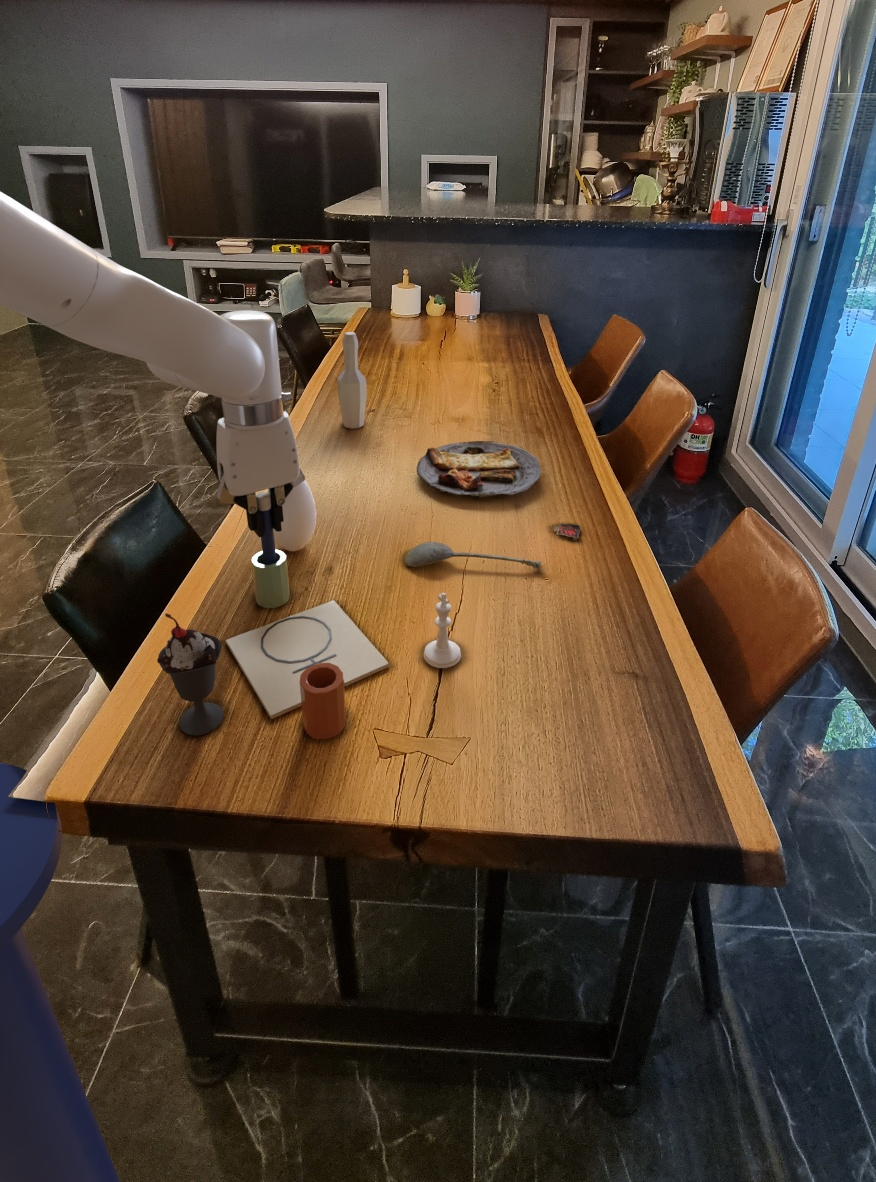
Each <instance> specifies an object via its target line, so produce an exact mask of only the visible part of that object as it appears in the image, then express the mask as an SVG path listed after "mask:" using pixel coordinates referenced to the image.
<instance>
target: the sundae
mask: <svg viewBox="0 0 876 1182" xmlns="http://www.w3.org/2000/svg"><path fill="white" fill-rule="evenodd" d="M164 616H165V618H169V619H170V620H172V621H173V622H174V623H175V627H173V628H172V629H171V630H170V633H171V637H170V638H169V639H168V640H167V642H166V645H165V646H164V647H163V648H162V649H161V650H160V652H159V653H158V657H157V661H156V663H158V664H159V666H160V667H161V670H162V671H164V672H165V673H166V674H168V675H170V678H171V681H172V683H173V685H174V688H175V690H176V692H177V694H178V696H179V697H180V698H181V699H182V700H184V701H187V702H191V703H193V705H192V706H191V707H189V708H187V710H185V712H183V713H182V715H181V717H180V719H179V728H180V731H182V732H183V733H184V734H186V735H189V736H203V735H207V734H209V733H211V732H213V731H214V730H216V729H217V728H218V727H219V726H220V725H221V724H222V723H223V720H224V717H225V712H224V709H223V708H222V706H220V705H219V704H217V703H214V702H205V699H206V698H207V697H208V696H209V695H210V694H211V693H213V691H214V689H215V683H216V665H217V661H218V660H219V657H220V655H221V653H222V641H221V640H220V639H219V638H218V637H216V636H215V635H214V636H213V635H211V634H208V633H204V632H198V631H197V630H195V629H185V628H183V627H181V626H180V625H179V623H178V621H177V620H176V618H174V617H173V616H172V615H171V614H169V613H166V612H165V614H164Z"/></svg>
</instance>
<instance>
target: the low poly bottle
mask: <svg viewBox="0 0 876 1182" xmlns="http://www.w3.org/2000/svg"><path fill="white" fill-rule="evenodd" d="M341 343H342V349H343V356H344V357H343V360H344V361H343V362H344V363H343V364H344V368H343V370H342V371H341V373H340V374H339V376H337V380H336V381H337V397H338V403H339V408H340V413H341V420H342V425H343V426H344V428H346V429H347V428H348V429H351V430H353V429H359V428H361V427H363V426H365V417H366V408H367V400H368V399H367V398H368V394H367V392H368V391H367V379H366V378H365V376H364V374H362V372H361V371H360V370H359V358H358V356H359V355H358V353H359V340H358V337H357V334H356V332H353V331H346V332H344V334H343V338H342V341H341Z"/></svg>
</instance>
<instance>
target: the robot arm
mask: <svg viewBox="0 0 876 1182" xmlns="http://www.w3.org/2000/svg"><path fill="white" fill-rule="evenodd" d="M0 305H1V306H4V307H6V308H7V309H9V310H12V311H13V312H16V313H18V314H20V315H22V316H25V317H26V318H29V319H31V320H33V321H35V322H37V323H39V324H41V325H43V326H45V327H46V328H49V329H51V330H53V331H55V332H57V333H60V334H61V335H63V336H66V337H68V338H70V339H72V340H75V341H77V342H80V343H83V344H86V345H88V346H90V347H94V348H95V349H96V348H97V349H99V350H102V351H105V352H109V353H111V354H117V355H120V356H124V357H128V358H131V359H135V360H139V361H142V362H145V364H146V365H147V368H148V369H149V370H150V371H151V373H152V374H153V375H154V376H156V377H157V378H158V379H159V380H161V381H163V382H165V383H168V384H169V385H170V384H171V385H173V386H178V387H180V388H184V389H188V390H191V391H196V392H199V393H203V394H207V395H210V396H214V397H217V398H219V399H221V406H222V407H221V408H222V413H223V417H221V418H219V419H218V420H217V426H216V438H215V439H216V441H215V443H216V444H215V446H216V469H217V477H218V480H219V486H218V487H217V488H218V489H217V493H216V495H215V497H216V500H217V501H218V502H219V503H220V504H228V505H236V506H238V507H240V508H241V509H243V510H245V512H246V520H247V521H246V522H247V527H248V529H249V531H251V532H254V533H255V535H256V536H257V537H258V538H260V539H261V537H263V535H264V528H263V519H262V513H261V511H260V510H259V509H258V506H257V501H256V495H257V493H259V492H263V491H265V490H268V489H269V494H270V500H271V513H272V522H273V528H274V530H275V531H277V532H279V531H282V528H281V522H283V521H284V519H283V508H282V505H283V504H284V503H285V498H286V497H287V496H288V494H289V493H290V492H291V490H292V489H293V487H296V486H297V485H299V484H300V483H302V482H303V481H304V480H306V476H305V474H304V473H303V470H302V469H301V467H300V460H299V452H298V447H297V441H296V436H295V432H294V428H293V425H292V422H291V418H290V415H289V413H288V412H287V411H286V406H287V405H288V404H290V403H293V401H294V400H293V395H292V393H291V392H282V391H283V390H282V380H281V370H280V356H279V347H278V335H277V325H276V322H275V319H274V318H273V316H271V315H270V314H268V313H267V312H263V311H261V310H260V311H259V310H254V309H253V310H252V309H249V310H248V309H244V310H243V309H242V310H233V311H227V312H225V313H222V314H218V313H216V312H214V311H212V310H210V309H208V308H207V307H205V306H203V305H201V304H199V303H197V302H195V301H193V300H191V299H189V298H187V297H185V296H183V295H181V294H180V293H177V292H175V291H173V290H171V289H168V288H167V287H164V286H163V285H161V284H159V283H157V282H155V281H153V280H151V279H150V278H147V277H146V276H143V275H142V274H139V273H137V272H135V271H133V270H131V269H129V268H127V267H125V266H123V265H120V264H119V263H118V262H115V261H113V260H112V259H110V258H109V257H107V256H105V255H103V254H102V253H101V252H99V251H97V250H96V249H94V248H92V247H90V246H89V245H87V244H86V243H84V242H82V241H81V240H79V239H77V238H76V237H75V236H73V235H72V234H70V233H68V232H67V231H65V230H63V229H61V228H60V227H58V226H56V225H55V224H53V223H52V222H50V221H49V220H48V219H46V218H44V217H43V216H41V215H40V214H38V213H36V212H35V211H33V210H31V209H30V208H28V207H27V206H25V205H23V204H22V203H20V202H19V201H17V200H16V199H14V198H12V197H11V196H8V195H7V194H5V193H4V192H2V191H0Z"/></svg>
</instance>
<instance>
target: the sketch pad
mask: <svg viewBox="0 0 876 1182" xmlns="http://www.w3.org/2000/svg"><path fill="white" fill-rule="evenodd" d="M225 644H226V646H227V648H228V649H229V651H230V653H231V654H232V655H233V657H234V659H235V661H236V662H237V664H238V665H239V668H240V670H241V671H242V672H243V674H244V676H245V678H246V680H247V681H248V683H249V685H250V686H251V688H252V690H253V691H254V693H255V694H256V696H257V698H258V700H259V701H260V703H261V705H262V706H263V709H264V710H265V711H266V713H267V715H268V717H269V718H270V720H274V719H275V718H278V717H280V716H282V715H285V714H287V713H289V712H291V711H293V710H295V709H298V708H300V707H302V704H301V693H300V676H301V674H302V673H303V672H304V671H305V670H306V668H308V667H310V666H312V665H315V664H317V663H331V664H334V665H337V666H338V667H339V668H340V669H341V670H342V672H343V675H344V688H346V687H347V686H349V685H351V684H353V683H356V682H359V681H360V680H363V679H365V678H367V677H369V676H372V675H374V674H377V673H378V672H380V671H383V670H385V669H388V668H389V667H390V664H389V662H388V661H387V659H386V658H385V657H384V656H383V655H382V653H381V652H380V651H379V650H378V649H377V648H376V647H375V645H374V644H373V643H372V642H371V641H370V640H369V639H368V638H367V636H366V635H365V634H364V633H363V632H362V630H361V629H359V627H358V626H357V625H356V623H355V622H353V620H352V619H351V618H350V617H349V616H348V614H347V612H345V611H344V610H343V609H342V608H341V606H340V605H339V604H338V603H337V602H336V601H335V600H334V599H333V600H330V601H328V602H325V603H322V604H319V605H316V606H314V607H311V608H308V609H306V610H303V611H300V612H297V613H295V614H291V615H289V616H286V617H284V618H281V619H278V620H276V621H273V622H271V623H268V624H265V625H262V626H260V627H257V628H254V629H251V630H249V631H246V632H243V633H240V634H238V635H235V636H232V637H230V638H227V639H225Z"/></svg>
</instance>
